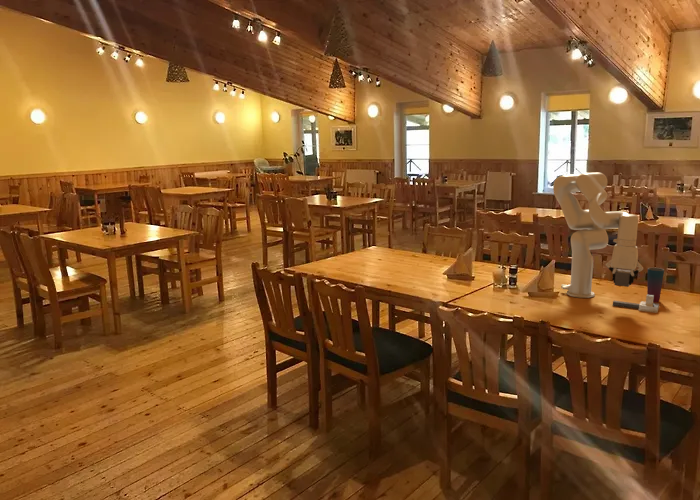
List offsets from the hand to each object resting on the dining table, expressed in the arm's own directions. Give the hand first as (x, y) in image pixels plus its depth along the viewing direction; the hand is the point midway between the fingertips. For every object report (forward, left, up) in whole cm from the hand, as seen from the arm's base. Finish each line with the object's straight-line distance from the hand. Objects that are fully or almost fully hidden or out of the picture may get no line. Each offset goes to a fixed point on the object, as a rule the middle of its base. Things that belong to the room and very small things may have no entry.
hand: (622, 282), depth 258 cm
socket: (0, 0, -1) cm, 1 cm away
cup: (+11, +23, -12) cm, 28 cm away
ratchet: (+5, +6, -12) cm, 14 cm away
